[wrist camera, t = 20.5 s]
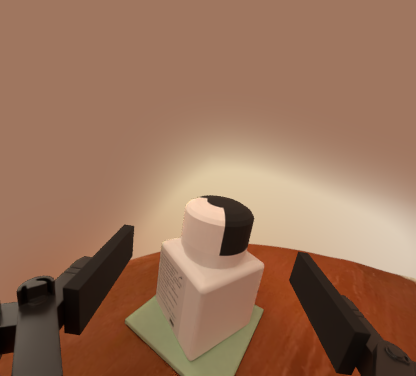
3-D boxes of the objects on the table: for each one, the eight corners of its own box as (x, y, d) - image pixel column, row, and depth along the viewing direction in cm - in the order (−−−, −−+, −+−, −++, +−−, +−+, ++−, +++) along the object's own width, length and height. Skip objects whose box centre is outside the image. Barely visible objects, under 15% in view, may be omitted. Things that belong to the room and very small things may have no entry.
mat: (124, 323, 20) (124, 319, 20) (190, 269, 29) (190, 267, 29) (218, 411, 15) (219, 407, 15) (262, 312, 24) (263, 309, 24)
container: (208, 278, 27) (225, 188, 24) (250, 324, 22) (280, 214, 18) (154, 299, 23) (165, 191, 19) (189, 365, 17) (214, 227, 14)
